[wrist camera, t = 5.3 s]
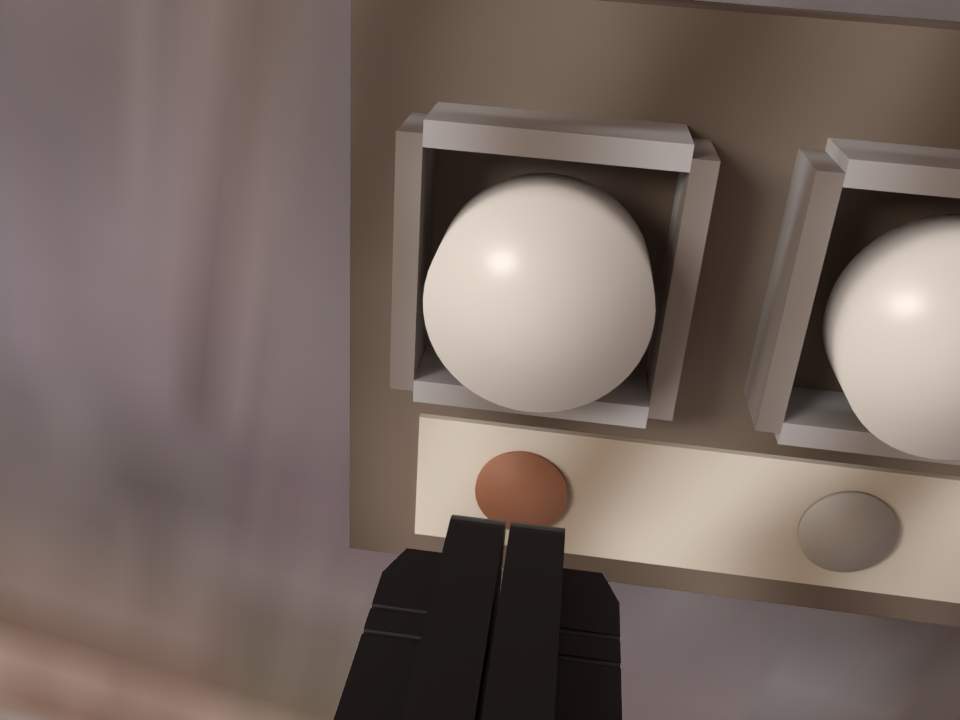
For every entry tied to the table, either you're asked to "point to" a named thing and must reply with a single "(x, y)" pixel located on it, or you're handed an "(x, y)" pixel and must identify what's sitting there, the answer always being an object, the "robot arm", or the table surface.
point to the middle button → (902, 336)
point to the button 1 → (540, 294)
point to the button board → (659, 287)
